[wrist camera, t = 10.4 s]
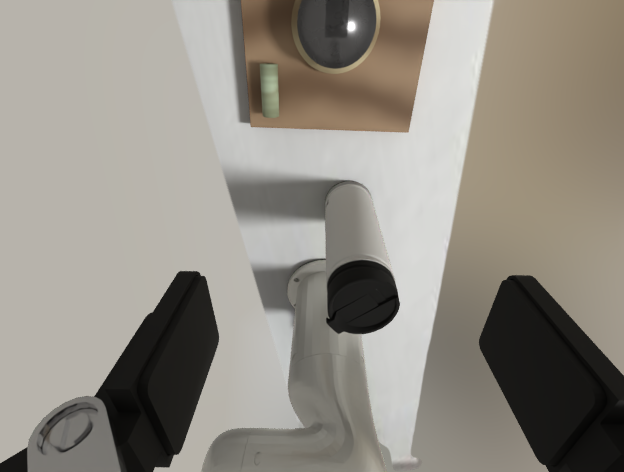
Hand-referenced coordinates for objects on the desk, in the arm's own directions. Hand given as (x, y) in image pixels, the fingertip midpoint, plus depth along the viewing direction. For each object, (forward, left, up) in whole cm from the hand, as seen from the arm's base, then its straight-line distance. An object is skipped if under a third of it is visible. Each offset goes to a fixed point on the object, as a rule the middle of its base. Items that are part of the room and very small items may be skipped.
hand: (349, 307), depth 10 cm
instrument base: (+8, 0, -31) cm, 32 cm away
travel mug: (-12, -3, -31) cm, 34 cm away
